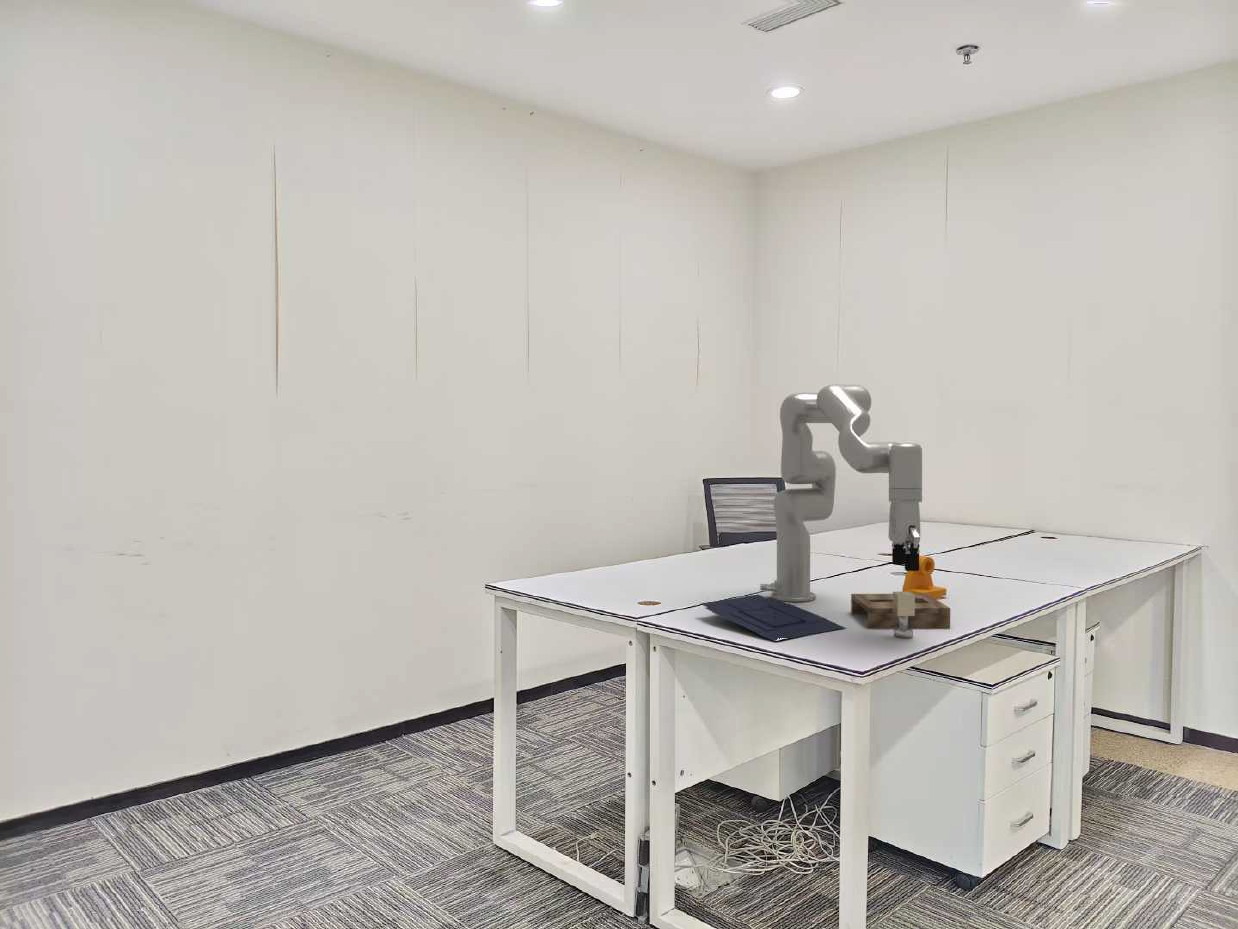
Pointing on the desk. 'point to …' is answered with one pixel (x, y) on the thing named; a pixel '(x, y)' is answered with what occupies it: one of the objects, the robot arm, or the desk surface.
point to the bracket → (923, 580)
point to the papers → (771, 617)
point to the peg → (903, 613)
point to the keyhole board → (882, 616)
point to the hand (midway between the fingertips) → (905, 567)
